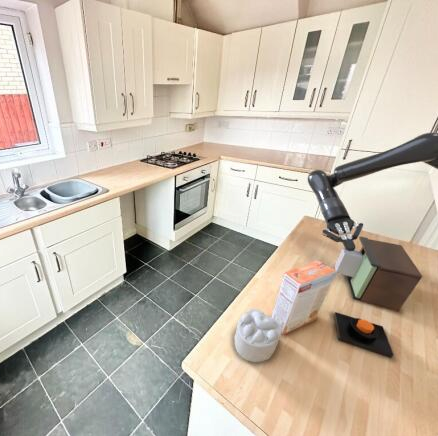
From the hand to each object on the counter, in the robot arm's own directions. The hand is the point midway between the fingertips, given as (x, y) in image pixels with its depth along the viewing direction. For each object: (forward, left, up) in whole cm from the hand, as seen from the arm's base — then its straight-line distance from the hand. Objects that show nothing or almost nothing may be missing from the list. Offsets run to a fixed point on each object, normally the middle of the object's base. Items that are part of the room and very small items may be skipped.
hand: (351, 250), depth 85 cm
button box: (-3, +24, -15) cm, 29 cm away
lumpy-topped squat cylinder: (+25, +41, -15) cm, 51 cm away
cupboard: (-10, -1, -15) cm, 18 cm away
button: (-3, +24, -12) cm, 27 cm away
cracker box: (+15, +27, -15) cm, 35 cm away
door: (-2, +2, -14) cm, 14 cm away
